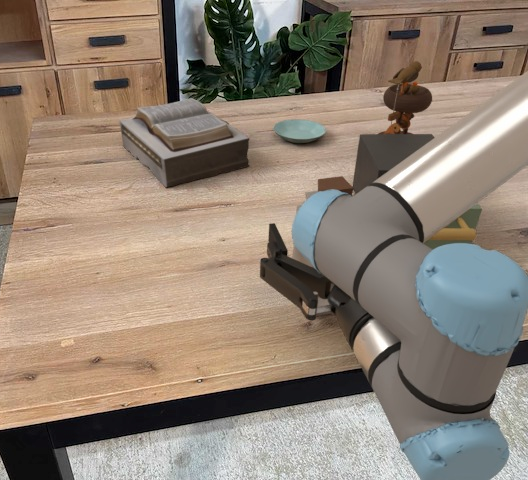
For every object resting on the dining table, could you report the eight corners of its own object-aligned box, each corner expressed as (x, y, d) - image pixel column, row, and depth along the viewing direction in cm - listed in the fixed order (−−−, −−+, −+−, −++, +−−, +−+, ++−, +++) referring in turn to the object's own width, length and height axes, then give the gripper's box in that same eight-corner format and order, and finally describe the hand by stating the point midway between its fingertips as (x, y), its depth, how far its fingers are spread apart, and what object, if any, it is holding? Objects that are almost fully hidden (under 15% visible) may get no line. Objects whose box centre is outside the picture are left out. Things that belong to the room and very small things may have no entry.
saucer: (331, 132, 125) (332, 123, 124) (315, 151, 116) (316, 141, 115) (283, 125, 130) (284, 116, 128) (265, 142, 121) (265, 133, 120)
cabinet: (446, 228, 89) (461, 169, 83) (368, 228, 90) (378, 170, 84) (419, 187, 102) (431, 133, 96) (352, 187, 102) (359, 134, 96)
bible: (214, 127, 129) (214, 87, 124) (256, 173, 108) (258, 127, 102) (119, 140, 124) (114, 98, 118) (143, 192, 102) (138, 144, 97)
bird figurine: (415, 172, 107) (427, 71, 96) (361, 165, 112) (367, 68, 102) (432, 145, 118) (444, 51, 107) (382, 140, 123) (389, 50, 113)
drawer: (479, 279, 76) (496, 226, 71) (396, 278, 77) (408, 226, 72) (437, 214, 91) (449, 166, 87) (369, 213, 92) (377, 166, 87)
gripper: (265, 376, 55) (229, 259, 73) (491, 348, 58) (403, 241, 75) (268, 321, 51) (229, 211, 68) (511, 294, 53) (413, 194, 71)
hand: (320, 227), depth 72 cm, fingers open, 13 cm apart
